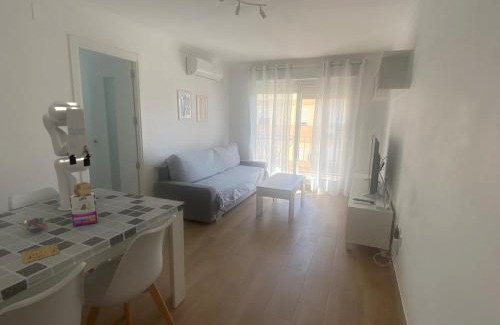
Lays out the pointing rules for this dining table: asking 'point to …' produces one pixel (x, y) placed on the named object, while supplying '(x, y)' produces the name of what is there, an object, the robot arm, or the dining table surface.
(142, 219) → the dining table surface
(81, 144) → the robot arm
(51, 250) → the cookie
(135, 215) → the dining table surface
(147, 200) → the dining table surface
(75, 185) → the oak block
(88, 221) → the candy bar box
